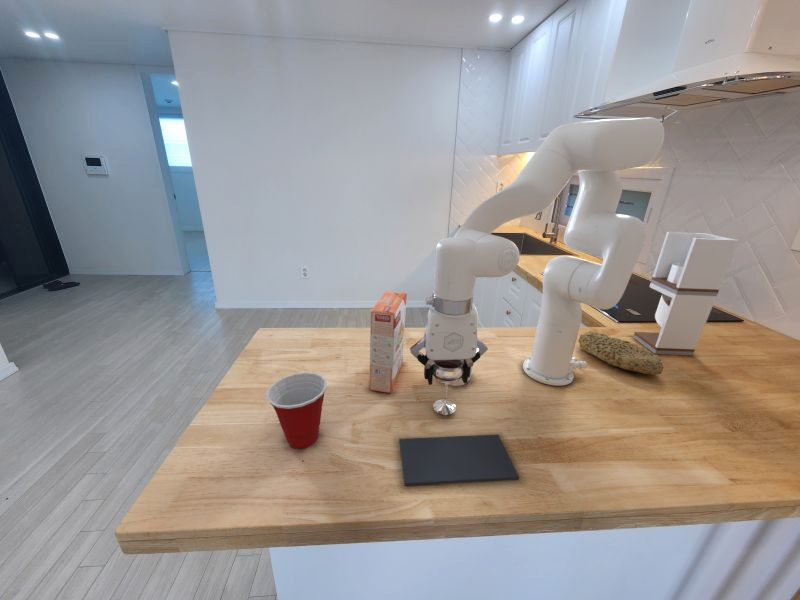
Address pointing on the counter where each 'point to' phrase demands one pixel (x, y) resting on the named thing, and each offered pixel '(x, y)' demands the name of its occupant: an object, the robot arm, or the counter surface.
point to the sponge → (621, 353)
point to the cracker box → (387, 340)
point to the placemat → (455, 460)
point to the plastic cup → (298, 406)
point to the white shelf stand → (686, 289)
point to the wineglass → (447, 381)
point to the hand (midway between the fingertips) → (446, 379)
